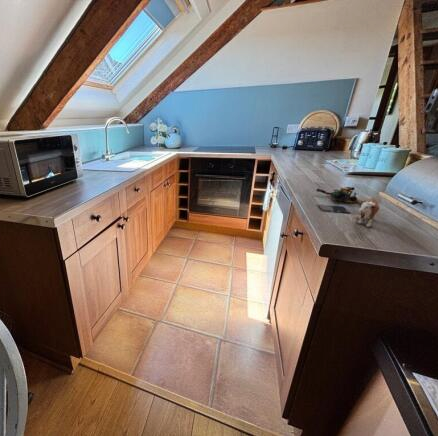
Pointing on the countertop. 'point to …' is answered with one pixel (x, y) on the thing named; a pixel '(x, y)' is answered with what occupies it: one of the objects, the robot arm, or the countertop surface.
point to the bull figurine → (368, 210)
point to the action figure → (342, 195)
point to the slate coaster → (333, 208)
